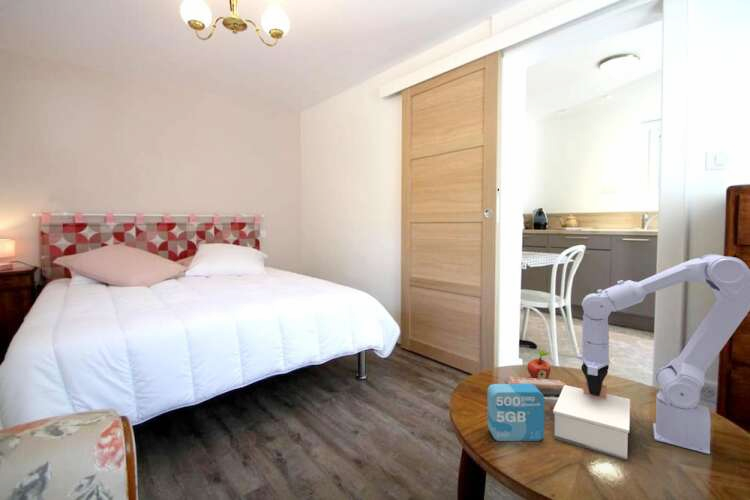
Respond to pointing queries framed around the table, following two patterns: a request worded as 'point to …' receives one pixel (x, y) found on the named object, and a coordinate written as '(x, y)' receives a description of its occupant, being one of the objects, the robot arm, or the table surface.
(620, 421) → the carton lid
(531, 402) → the data package
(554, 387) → the packaged product
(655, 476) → the table surface
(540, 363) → the apple
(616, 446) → the carton
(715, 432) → the table surface
